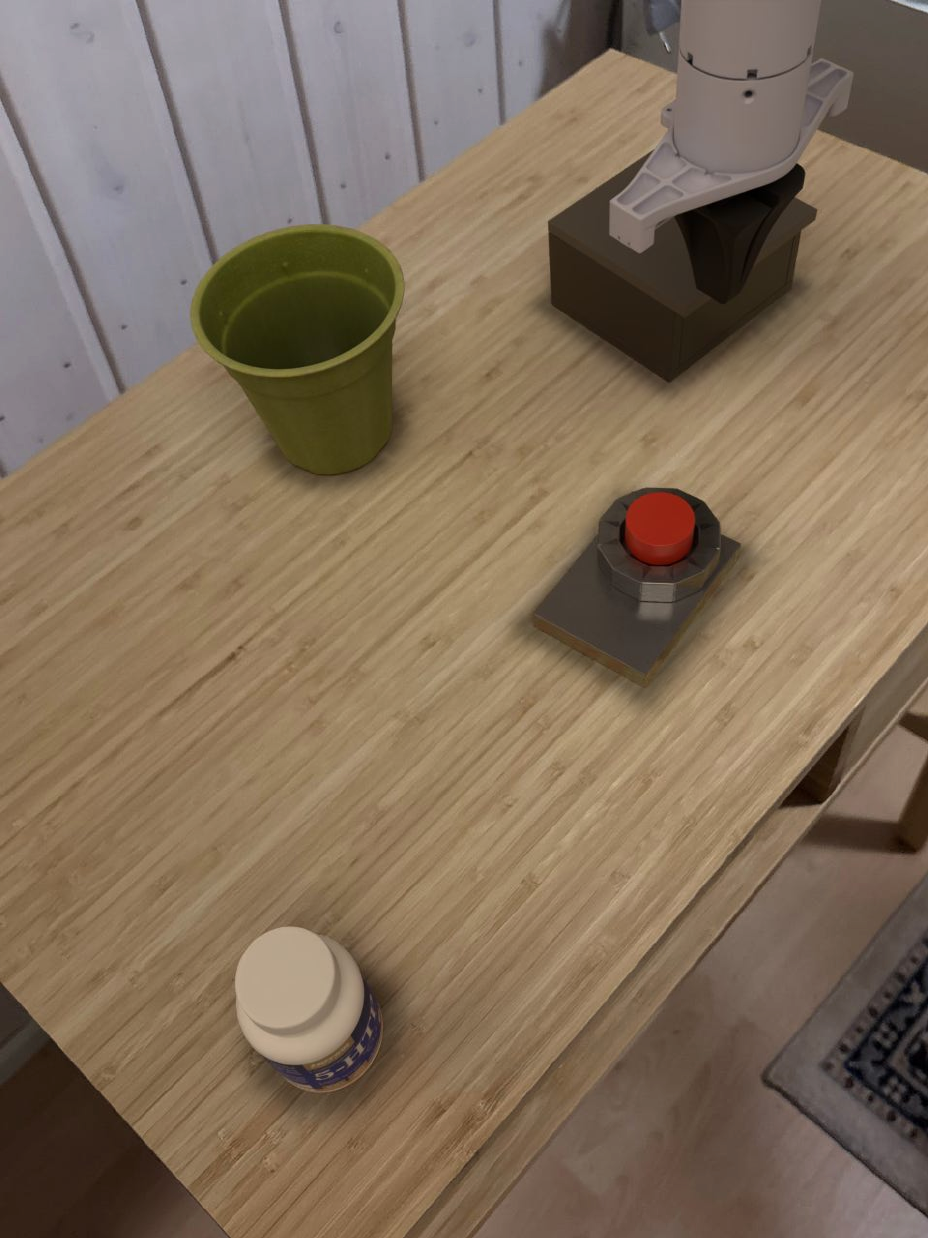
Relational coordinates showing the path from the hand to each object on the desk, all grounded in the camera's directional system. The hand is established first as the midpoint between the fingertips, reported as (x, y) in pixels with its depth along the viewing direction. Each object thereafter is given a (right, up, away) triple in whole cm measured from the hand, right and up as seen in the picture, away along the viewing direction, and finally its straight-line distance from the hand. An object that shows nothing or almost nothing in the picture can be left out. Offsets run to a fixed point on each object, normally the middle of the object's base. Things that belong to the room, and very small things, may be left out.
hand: (718, 289), depth 61 cm
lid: (0, +7, +10) cm, 12 cm away
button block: (-4, -16, +2) cm, 17 cm away
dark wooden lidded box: (0, +4, +15) cm, 15 cm away
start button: (-3, -13, +1) cm, 13 cm away
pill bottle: (-20, -36, -9) cm, 42 cm away
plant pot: (-21, -6, +11) cm, 25 cm away
